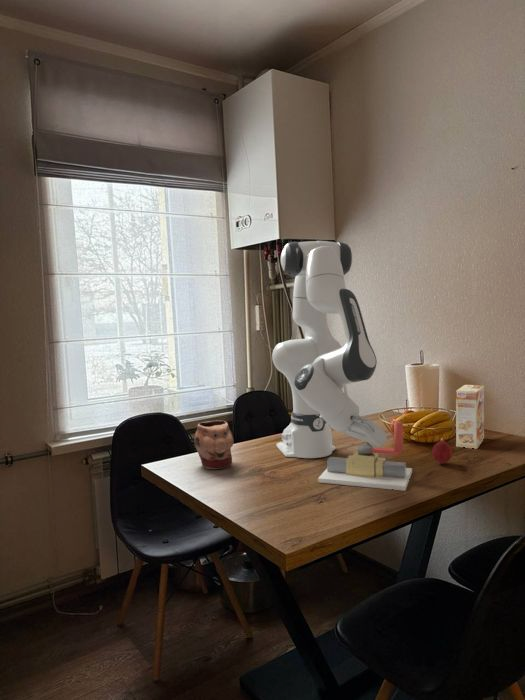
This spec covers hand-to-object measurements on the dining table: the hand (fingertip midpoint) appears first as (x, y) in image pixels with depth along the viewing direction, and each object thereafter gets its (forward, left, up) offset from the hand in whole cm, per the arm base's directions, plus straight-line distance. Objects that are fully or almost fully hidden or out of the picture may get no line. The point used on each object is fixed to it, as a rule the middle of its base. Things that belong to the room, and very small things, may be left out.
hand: (373, 445), depth 142 cm
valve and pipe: (-7, +2, -12) cm, 14 cm away
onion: (-6, +29, -12) cm, 32 cm away
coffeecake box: (-20, +54, -12) cm, 59 cm away
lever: (-4, +5, -4) cm, 8 cm away
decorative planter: (-41, -33, -12) cm, 54 cm away
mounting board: (-7, +2, -12) cm, 14 cm away
